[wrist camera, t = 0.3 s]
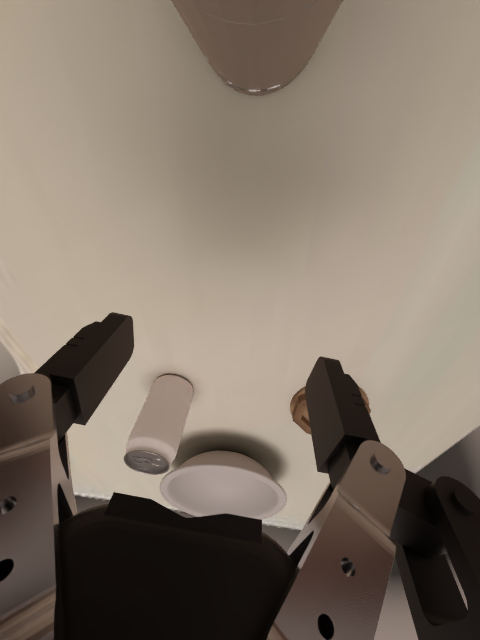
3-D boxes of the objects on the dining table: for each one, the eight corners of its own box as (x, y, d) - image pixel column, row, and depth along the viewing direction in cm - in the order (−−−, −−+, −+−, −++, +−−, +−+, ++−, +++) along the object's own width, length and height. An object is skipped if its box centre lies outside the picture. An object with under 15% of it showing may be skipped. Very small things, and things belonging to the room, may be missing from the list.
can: (195, 401, 43) (175, 478, 33) (157, 398, 43) (126, 473, 33) (192, 374, 39) (169, 451, 29) (151, 371, 39) (114, 447, 29)
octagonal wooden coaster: (299, 375, 37) (301, 385, 36) (380, 385, 37) (385, 395, 36) (283, 423, 44) (284, 432, 43) (351, 431, 44) (355, 441, 43)
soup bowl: (154, 429, 48) (141, 465, 43) (281, 427, 45) (284, 466, 40) (185, 487, 62) (178, 520, 56) (285, 489, 58) (288, 524, 53)
